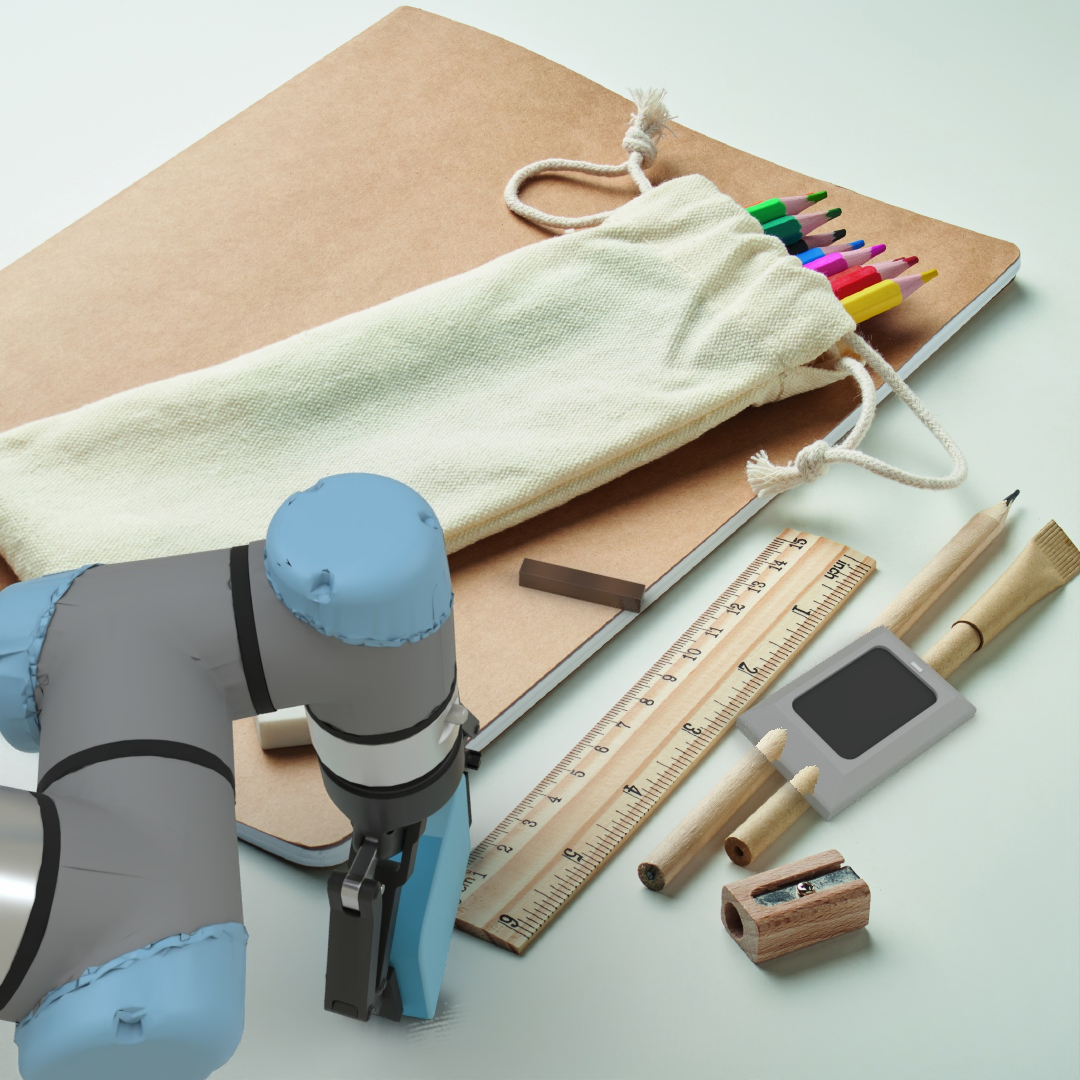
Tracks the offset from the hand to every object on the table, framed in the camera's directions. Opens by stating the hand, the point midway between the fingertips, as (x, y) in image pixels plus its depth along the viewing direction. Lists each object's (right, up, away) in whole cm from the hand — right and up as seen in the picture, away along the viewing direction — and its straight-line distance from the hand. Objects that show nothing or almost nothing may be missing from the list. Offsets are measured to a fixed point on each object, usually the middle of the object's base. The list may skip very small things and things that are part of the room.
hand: (417, 911), depth 77 cm
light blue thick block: (0, -2, +2) cm, 3 cm away
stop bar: (+11, +19, +21) cm, 30 cm away
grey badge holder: (+31, +9, +13) cm, 35 cm away
